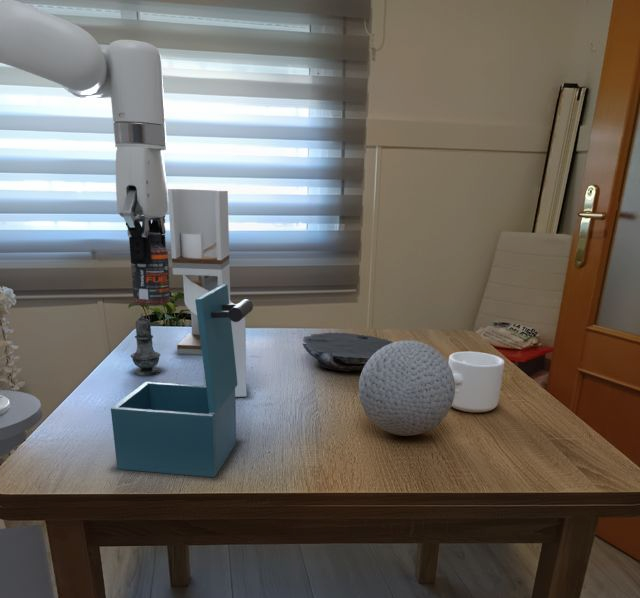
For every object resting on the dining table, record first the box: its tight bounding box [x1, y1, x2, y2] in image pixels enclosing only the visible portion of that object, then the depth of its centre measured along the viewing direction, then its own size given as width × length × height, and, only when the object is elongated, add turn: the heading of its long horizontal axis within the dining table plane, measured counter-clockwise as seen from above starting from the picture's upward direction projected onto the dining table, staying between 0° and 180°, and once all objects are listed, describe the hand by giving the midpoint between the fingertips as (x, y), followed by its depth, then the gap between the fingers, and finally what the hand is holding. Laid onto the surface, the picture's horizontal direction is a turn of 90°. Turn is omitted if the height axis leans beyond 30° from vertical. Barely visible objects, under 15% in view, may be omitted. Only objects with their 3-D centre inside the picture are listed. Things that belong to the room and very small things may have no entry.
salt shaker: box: [130, 313, 161, 377], centre depth 116 cm, size 6×6×12 cm
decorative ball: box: [358, 339, 455, 437], centre depth 90 cm, size 15×15×15 cm
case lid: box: [195, 285, 254, 413], centre depth 75 cm, size 14×12×5 cm
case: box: [110, 381, 237, 478], centre depth 81 cm, size 14×12×9 cm
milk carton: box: [203, 299, 247, 398], centre depth 105 cm, size 7×7×19 cm
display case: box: [167, 188, 231, 355], centre depth 130 cm, size 11×11×35 cm
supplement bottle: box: [130, 232, 171, 307], centre depth 94 cm, size 6×6×11 cm
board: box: [302, 332, 395, 372], centre depth 127 cm, size 22×22×5 cm
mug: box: [447, 351, 506, 414], centre depth 105 cm, size 12×10×9 cm
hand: (149, 260), depth 94 cm, fingers closed on supplement bottle, 6 cm apart
